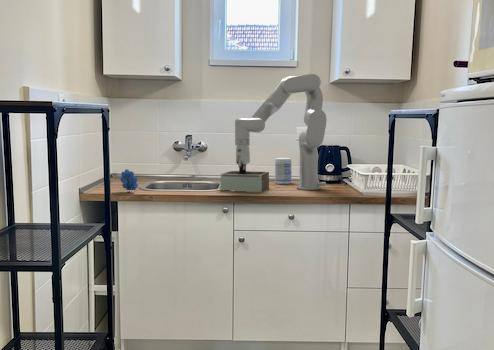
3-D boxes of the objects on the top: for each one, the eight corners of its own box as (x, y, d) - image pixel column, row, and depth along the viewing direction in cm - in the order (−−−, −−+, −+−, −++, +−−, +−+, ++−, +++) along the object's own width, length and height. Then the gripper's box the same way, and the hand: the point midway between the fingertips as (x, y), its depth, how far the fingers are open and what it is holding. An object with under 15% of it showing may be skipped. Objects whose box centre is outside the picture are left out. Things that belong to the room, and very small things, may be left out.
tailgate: (261, 192, 242) (261, 174, 241) (261, 192, 241) (261, 175, 240) (221, 190, 248) (221, 173, 247) (220, 190, 247) (220, 173, 246)
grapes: (115, 192, 245) (114, 169, 243) (124, 190, 250) (123, 168, 249) (131, 194, 239) (130, 170, 237) (141, 192, 244) (140, 169, 243)
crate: (268, 188, 256) (268, 171, 255) (261, 192, 242) (261, 174, 241) (230, 186, 263) (230, 170, 262) (221, 190, 249) (221, 173, 248)
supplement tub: (287, 184, 270) (287, 159, 268) (272, 183, 274) (272, 158, 272) (294, 182, 278) (294, 158, 276) (279, 182, 283) (279, 157, 281)
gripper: (244, 143, 236) (245, 179, 239) (253, 141, 251) (253, 176, 253) (230, 142, 239) (231, 178, 241) (240, 141, 253) (240, 175, 255)
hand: (242, 177), depth 247 cm, fingers closed
